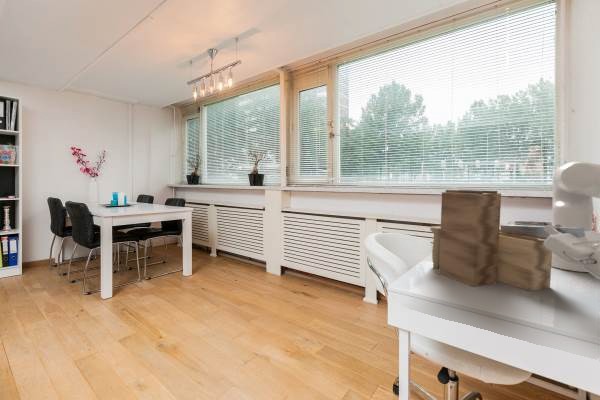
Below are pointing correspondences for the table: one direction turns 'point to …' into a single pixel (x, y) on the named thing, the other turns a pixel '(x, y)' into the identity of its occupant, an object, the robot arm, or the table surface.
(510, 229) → the bar
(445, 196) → the tall wood grain block
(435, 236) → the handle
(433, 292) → the table surface
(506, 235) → the light wood grain block
